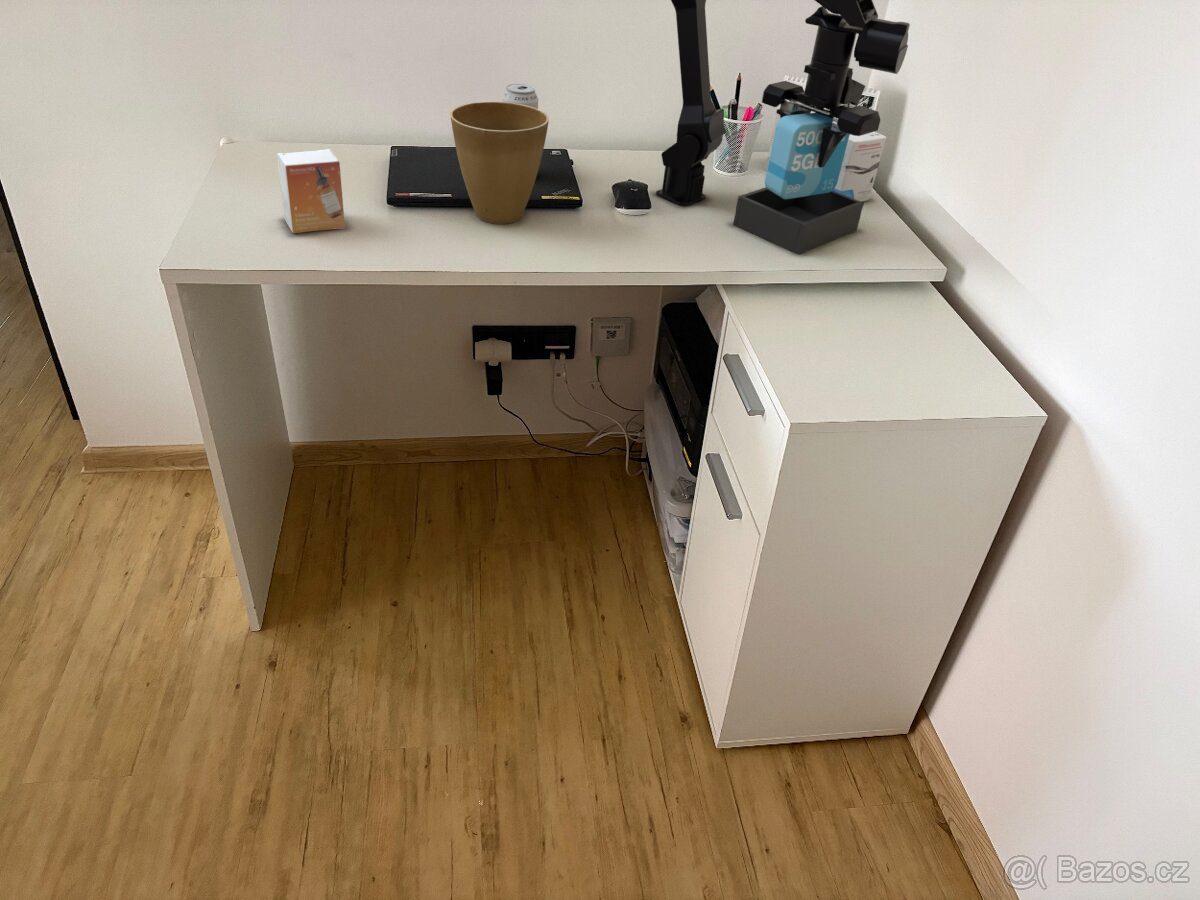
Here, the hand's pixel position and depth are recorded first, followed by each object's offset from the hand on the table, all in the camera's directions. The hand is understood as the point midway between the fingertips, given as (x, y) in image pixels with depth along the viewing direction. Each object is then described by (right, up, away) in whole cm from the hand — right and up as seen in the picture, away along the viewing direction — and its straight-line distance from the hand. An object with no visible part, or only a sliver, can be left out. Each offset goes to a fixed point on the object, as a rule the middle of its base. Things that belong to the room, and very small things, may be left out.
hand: (807, 161), depth 147 cm
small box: (-77, -12, -7) cm, 78 cm away
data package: (-1, -4, +3) cm, 5 cm away
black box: (-1, -9, +7) cm, 11 cm away
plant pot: (-50, -8, +1) cm, 51 cm away
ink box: (+11, -1, +20) cm, 23 cm away
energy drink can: (-48, +2, +16) cm, 51 cm away
